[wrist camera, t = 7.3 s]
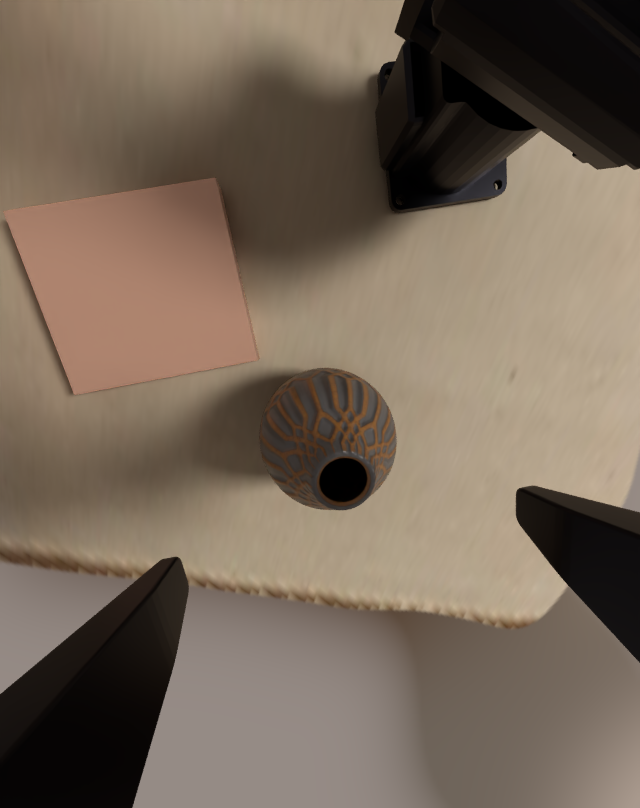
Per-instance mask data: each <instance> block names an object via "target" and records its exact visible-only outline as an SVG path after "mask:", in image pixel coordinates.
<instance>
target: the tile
mask: <svg viewBox="0 0 640 808" xmlns="http://www.w3.org/2000/svg"><path fill="white" fill-rule="evenodd" d="M3 212H4V215H5V217H6V220H7V222H8V225H9V228H10V230H11V233H12V235H13V238H14V240H15V243H16V246H17V248H18V251H19V253H20V256H21V258H22V261H23V264H24V266H25V269H26V271H27V274H28V277H29V279H30V282H31V284H32V287H33V289H34V292H35V295H36V297H37V300H38V302H39V305H40V308H41V310H42V313H43V315H44V318H45V320H46V323H47V326H48V328H49V331H50V333H51V336H52V338H53V341H54V344H55V346H56V349H57V351H58V354H59V357H60V359H61V362H62V364H63V367H64V369H65V372H66V375H67V377H68V380H69V382H70V385H71V388H72V390H73V393H74V395H77V394H83V393H88V392H93V391H98V390H104V389H109V388H114V387H120V386H125V385H130V384H135V383H141V382H146V381H151V380H156V379H162V378H167V377H172V376H178V375H183V374H188V373H193V372H199V371H204V370H209V369H215V368H220V367H225V366H230V365H236V364H241V363H246V362H252V361H257V360H258V359H259V354H258V349H257V345H256V340H255V336H254V332H253V327H252V323H251V318H250V314H249V310H248V305H247V301H246V296H245V292H244V288H243V283H242V279H241V275H240V270H239V266H238V261H237V257H236V253H235V248H234V244H233V239H232V235H231V231H230V226H229V222H228V217H227V213H226V209H225V204H224V200H223V195H222V191H221V188H220V186H219V183H218V181H217V179H216V177H215V178H208V179H202V180H196V181H189V182H183V183H177V184H170V185H164V186H158V187H151V188H145V189H139V190H132V191H126V192H120V193H113V194H107V195H101V196H94V197H88V198H82V199H75V200H69V201H63V202H56V203H50V204H44V205H37V206H31V207H25V208H18V209H12V210H6V211H3Z"/></svg>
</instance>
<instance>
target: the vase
mask: <svg viewBox="0 0 640 808" xmlns="http://www.w3.org/2000/svg"><path fill="white" fill-rule="evenodd" d="M259 439H260V449H261V454H262V458H263V461H264V463H265V466H266V468H267V470H268V472H269V474H270V476H271V477H272V479H273V480H274V482H275V483H276V484H277V485H278V486H279V488H280V489H281V490H282V491H283V492H284V493H285V494H287V495H288V496H289V497H291V498H292V499H294V500H295V501H297V502H299V503H301V504H303V505H306V506H309V507H312V508H316V509H323V510H348V509H352V508H355V507H357V506H359V505H360V504H362V503H363V502H364V501H365V500H367V498H368V497H369V496H371V495H372V494H373V493H374V492H375V491H376V490H377V489H378V488H379V487H380V486H381V485H382V483H383V482H384V481H385V479H386V478H387V476H388V474H389V472H390V470H391V468H392V465H393V462H394V458H395V454H396V430H395V424H394V420H393V417H392V414H391V412H390V410H389V407H388V406H387V404H386V402H385V400H384V399H383V398H382V396H381V395H380V394H379V392H378V391H377V390H376V389H375V388H374V387H372V386H371V385H370V384H369V383H368V382H366V381H365V380H363V379H362V378H360V377H358V376H356V375H354V374H352V373H350V372H347V371H343V370H339V369H333V368H318V369H312V370H308V371H305V372H302V373H300V374H298V375H296V376H294V377H292V378H290V379H289V380H288V381H286V382H285V383H284V384H283V385H282V386H281V387H280V388H279V389H278V390H277V391H276V392H275V393H274V395H273V396H272V398H271V399H270V401H269V402H268V404H267V406H266V409H265V411H264V414H263V417H262V421H261V426H260V436H259Z"/></svg>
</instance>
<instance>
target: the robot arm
mask: <svg viewBox="0 0 640 808" xmlns="http://www.w3.org/2000/svg"><path fill="white" fill-rule="evenodd" d="M395 33H396V34H397V35H399V36H400V37H402V38H403V39H405V42H404V44H403V45H402V47H401V49H400V52H399V54H398V57H397V59H396V61H394V62H388V63H385V64H384V65H383V66H382V67H381V70H380V72H379V75H378V79H377V84H378V94H379V104H378V106H377V109H376V112H375V115H376V125H377V135H378V145H379V155H380V164H381V167H382V168H383V169H384V171H386V176H387V186H388V196H389V205H390V208H391V209H392V211H394V212H397V213H400V212H407V211H413V210H419V209H426V208H432V207H439V206H445V205H451V204H458V203H464V202H471V201H477V200H484V199H490V198H495V197H497V196H499V195H500V194H502V193H503V192H504V191H505V189H506V185H507V169H506V158H507V157H508V156H509V155H510V154H512V153H513V152H514V151H516V150H517V149H518V148H519V147H521V146H522V145H523V144H525V143H526V142H527V141H528V140H530V139H531V138H532V137H534V136H535V135H536V134H537V133H539V132H540V131H543V132H544V133H546V134H547V135H548V136H550V137H551V138H553V139H554V140H556V141H557V142H559V143H560V144H561V145H563V146H564V147H566V148H567V149H569V150H570V151H571V152H573V154H572V156H573V157H575V158H576V159H578V160H579V161H580V162H582V163H589V164H590V165H592V166H593V167H594V168H596V169H597V170H598V169H606V168H614V167H621V166H623V165H628V166H629V167H631V168H632V169H633V170H635V169H640V0H405V1H404V4H403V7H402V10H401V14H400V17H399V20H398V23H397V26H396V29H395ZM385 75H389V79H388V81H387V80H386V79H385ZM494 183H496V184H497V186H498V189H497V190H496V189H495V188H494ZM397 197H399V198H401V199H402V201H403V203H402V205H399V204H397V202H396V198H397ZM516 518H517V521H518V523H519V524H520V526H521V527H522V528H523V530H524V531H525V532H526V533H527V535H528V536H529V537H530V539H531V540H532V541H533V542H534V544H535V545H536V546H537V548H538V549H539V550H540V551H541V553H542V554H543V555H544V557H545V558H546V559H547V560H548V562H549V563H550V564H551V566H552V567H553V568H554V569H555V570H556V572H557V573H558V574H559V575H560V577H561V578H562V579H563V580H564V581H565V582H566V583H567V584H568V586H569V587H570V588H571V589H572V590H573V591H574V592H575V593H576V594H577V595H578V596H579V597H580V598H581V600H582V601H583V602H584V603H585V604H586V605H587V606H588V607H589V608H590V609H591V610H592V612H593V613H594V614H595V615H596V616H597V617H598V618H599V619H600V620H601V621H602V622H603V623H604V625H605V626H606V627H607V628H608V629H609V630H610V631H611V632H612V633H613V634H614V635H615V636H616V638H617V639H618V640H619V641H620V642H621V643H622V644H623V645H624V646H625V647H626V648H627V649H628V650H629V652H630V653H631V654H632V655H633V656H634V657H635V658H636V659H637V660H638V661H639V662H640V512H635V511H632V510H628V509H624V508H620V507H616V506H612V505H608V504H604V503H600V502H596V501H593V500H589V499H585V498H581V497H577V496H573V495H569V494H565V493H561V492H557V491H553V490H549V489H545V488H541V487H538V486H527V487H522V488H519V489H518V490H517V492H516ZM188 592H189V585H188V580H187V577H186V574H185V571H184V568H183V565H182V562H181V559H180V558H179V557H172V558H166V559H162V560H160V561H159V562H158V563H157V564H155V565H154V566H153V567H152V568H151V569H149V570H148V571H147V572H146V573H145V574H143V575H142V576H141V577H140V578H139V579H137V580H136V581H135V582H134V583H133V584H132V585H130V586H129V587H128V588H127V589H126V590H125V591H123V592H122V593H121V594H120V595H118V596H117V597H116V598H115V599H114V600H112V601H111V602H110V603H109V604H108V605H106V607H104V608H103V609H102V610H100V611H99V612H98V613H97V614H96V615H94V616H93V617H92V618H91V619H90V620H88V621H87V622H86V623H85V624H84V625H83V626H81V627H80V628H79V629H78V630H76V631H75V632H74V633H73V634H72V635H70V636H69V637H68V638H67V639H66V640H65V641H63V642H62V643H61V644H60V645H59V646H57V647H56V648H55V649H54V650H53V651H51V652H50V653H49V654H48V655H47V656H45V657H44V658H43V659H42V660H41V661H39V662H38V663H37V664H36V665H35V666H33V667H32V668H31V669H30V670H29V671H28V672H26V673H25V674H24V675H23V676H22V677H20V678H19V679H18V680H17V681H15V682H14V683H13V684H12V685H11V686H10V687H8V688H7V689H6V690H5V691H4V692H3V693H1V694H0V808H132V807H133V804H134V800H135V797H136V793H137V790H138V786H139V783H140V780H141V776H142V773H143V769H144V766H145V763H146V759H147V756H148V752H149V749H150V745H151V742H152V739H153V735H154V732H155V728H156V725H157V721H158V718H159V715H160V711H161V708H162V704H163V701H164V698H165V694H166V691H167V687H168V684H169V681H170V677H171V674H172V670H173V666H174V663H175V658H176V654H177V649H178V644H179V639H180V634H181V629H182V623H183V618H184V613H185V608H186V603H187V597H188Z"/></svg>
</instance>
